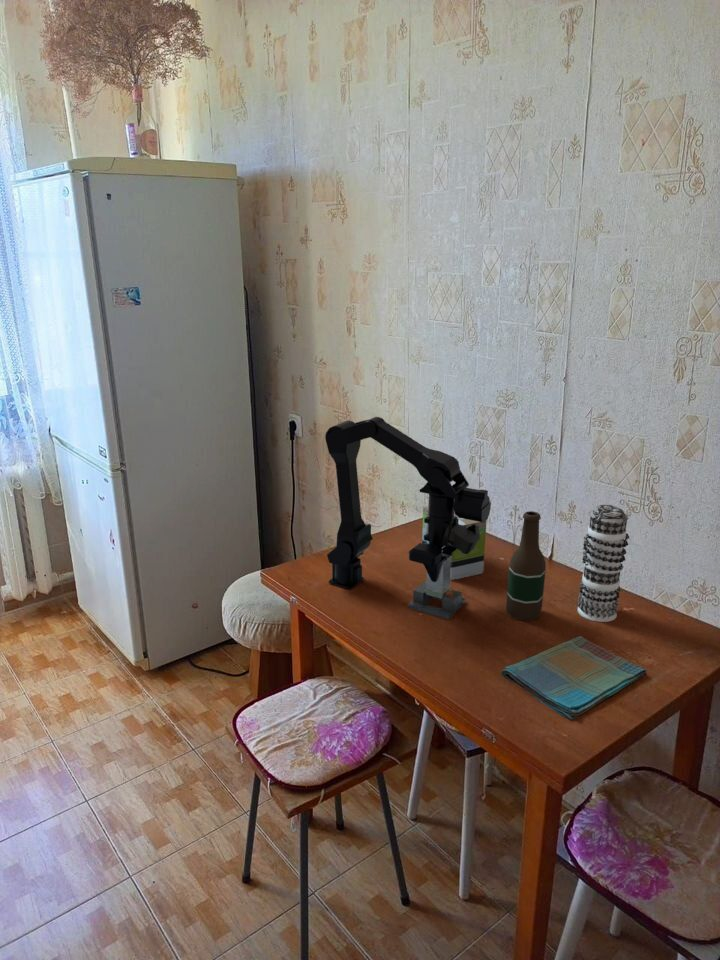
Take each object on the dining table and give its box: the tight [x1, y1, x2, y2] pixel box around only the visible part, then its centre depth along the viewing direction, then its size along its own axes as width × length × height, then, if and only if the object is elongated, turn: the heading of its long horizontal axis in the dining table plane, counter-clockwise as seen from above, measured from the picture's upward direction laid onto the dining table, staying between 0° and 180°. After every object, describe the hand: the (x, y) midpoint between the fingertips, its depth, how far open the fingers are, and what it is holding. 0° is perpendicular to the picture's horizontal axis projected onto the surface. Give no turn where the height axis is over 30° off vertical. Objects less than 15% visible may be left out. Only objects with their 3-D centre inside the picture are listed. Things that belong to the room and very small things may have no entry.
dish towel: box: [501, 635, 647, 721], centre depth 138 cm, size 17×23×2 cm
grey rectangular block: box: [425, 554, 451, 599], centre depth 162 cm, size 4×4×9 cm
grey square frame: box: [407, 581, 467, 620], centre depth 164 cm, size 10×9×4 cm
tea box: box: [421, 506, 487, 581], centre depth 182 cm, size 15×10×15 cm
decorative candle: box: [577, 504, 630, 623], centre depth 157 cm, size 9×9×25 cm
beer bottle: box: [505, 511, 547, 622], centre depth 157 cm, size 8×8×24 cm
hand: (438, 577), depth 162 cm, fingers closed on grey rectangular block, 4 cm apart
